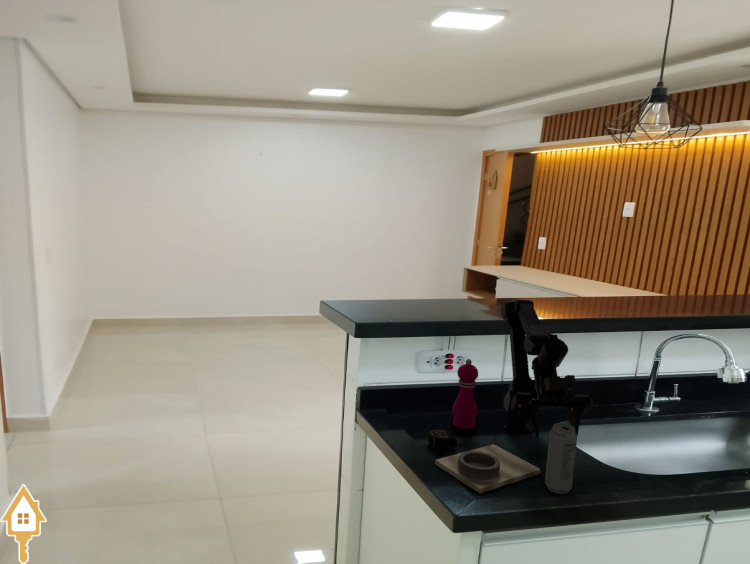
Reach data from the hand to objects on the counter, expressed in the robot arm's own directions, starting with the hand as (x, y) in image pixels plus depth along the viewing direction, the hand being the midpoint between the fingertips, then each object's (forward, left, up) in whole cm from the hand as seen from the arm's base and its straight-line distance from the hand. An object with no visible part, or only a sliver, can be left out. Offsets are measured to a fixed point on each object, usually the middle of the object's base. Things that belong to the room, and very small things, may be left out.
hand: (556, 436), depth 134 cm
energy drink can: (+2, +3, -11) cm, 12 cm away
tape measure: (+11, -28, -11) cm, 32 cm away
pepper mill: (-4, -36, -11) cm, 38 cm away
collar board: (+10, -12, -11) cm, 19 cm away
